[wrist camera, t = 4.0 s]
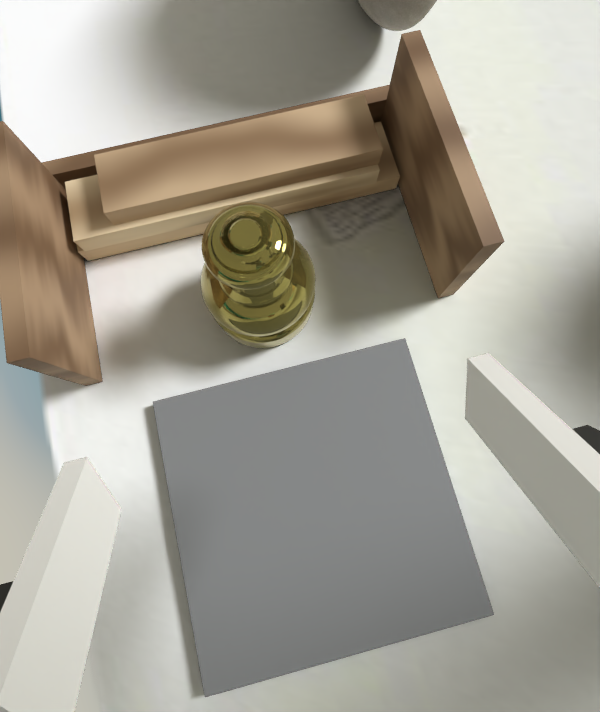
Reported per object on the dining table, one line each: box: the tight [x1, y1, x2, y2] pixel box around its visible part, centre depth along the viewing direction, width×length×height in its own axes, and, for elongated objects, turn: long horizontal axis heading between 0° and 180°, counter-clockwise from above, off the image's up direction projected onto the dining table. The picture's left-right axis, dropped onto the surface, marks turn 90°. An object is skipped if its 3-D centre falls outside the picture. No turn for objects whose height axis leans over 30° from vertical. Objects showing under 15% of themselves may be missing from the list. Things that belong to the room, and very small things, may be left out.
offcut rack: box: [0, 30, 504, 386], centre depth 28 cm, size 16×27×8 cm, turn 104°
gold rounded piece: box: [201, 202, 315, 348], centre depth 26 cm, size 7×8×10 cm
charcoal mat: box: [153, 338, 494, 697], centre depth 27 cm, size 18×18×1 cm
